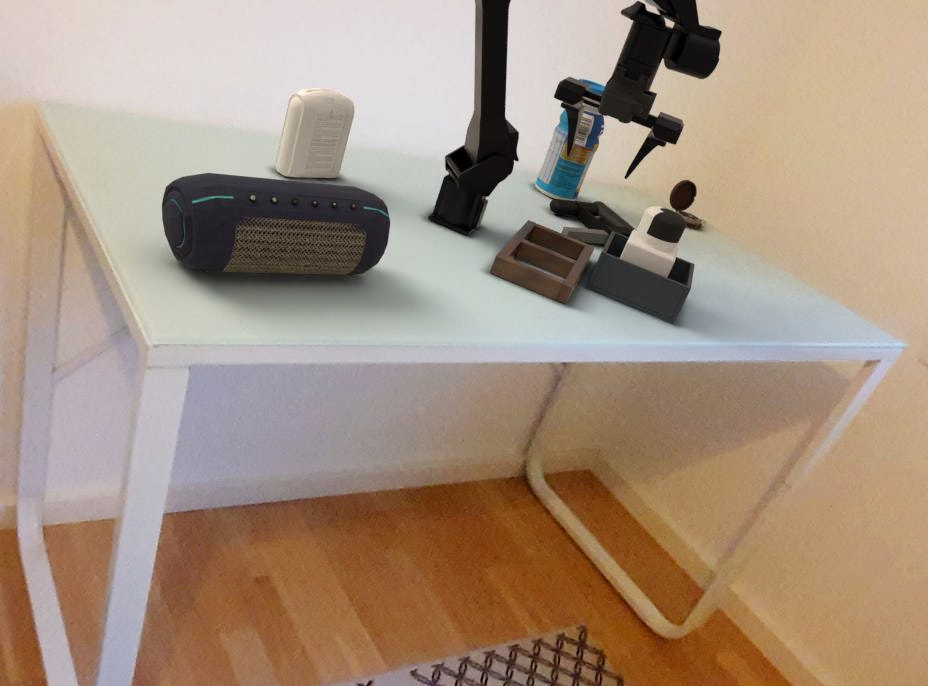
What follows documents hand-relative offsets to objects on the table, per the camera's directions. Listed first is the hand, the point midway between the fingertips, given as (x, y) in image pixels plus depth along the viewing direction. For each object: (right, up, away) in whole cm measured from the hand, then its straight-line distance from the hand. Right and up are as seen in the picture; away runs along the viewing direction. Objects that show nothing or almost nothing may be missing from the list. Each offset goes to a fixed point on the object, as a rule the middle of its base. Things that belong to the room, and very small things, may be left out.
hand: (596, 166), depth 127 cm
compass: (+25, +1, +43) cm, 50 cm away
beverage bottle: (-3, +3, +31) cm, 31 cm away
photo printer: (-43, -2, -2) cm, 43 cm away
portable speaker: (-42, -20, -32) cm, 56 cm away
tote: (+5, -19, -2) cm, 20 cm away
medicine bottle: (+5, -18, -2) cm, 19 cm away
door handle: (+2, -7, +16) cm, 17 cm away
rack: (-9, -16, -5) cm, 18 cm away
